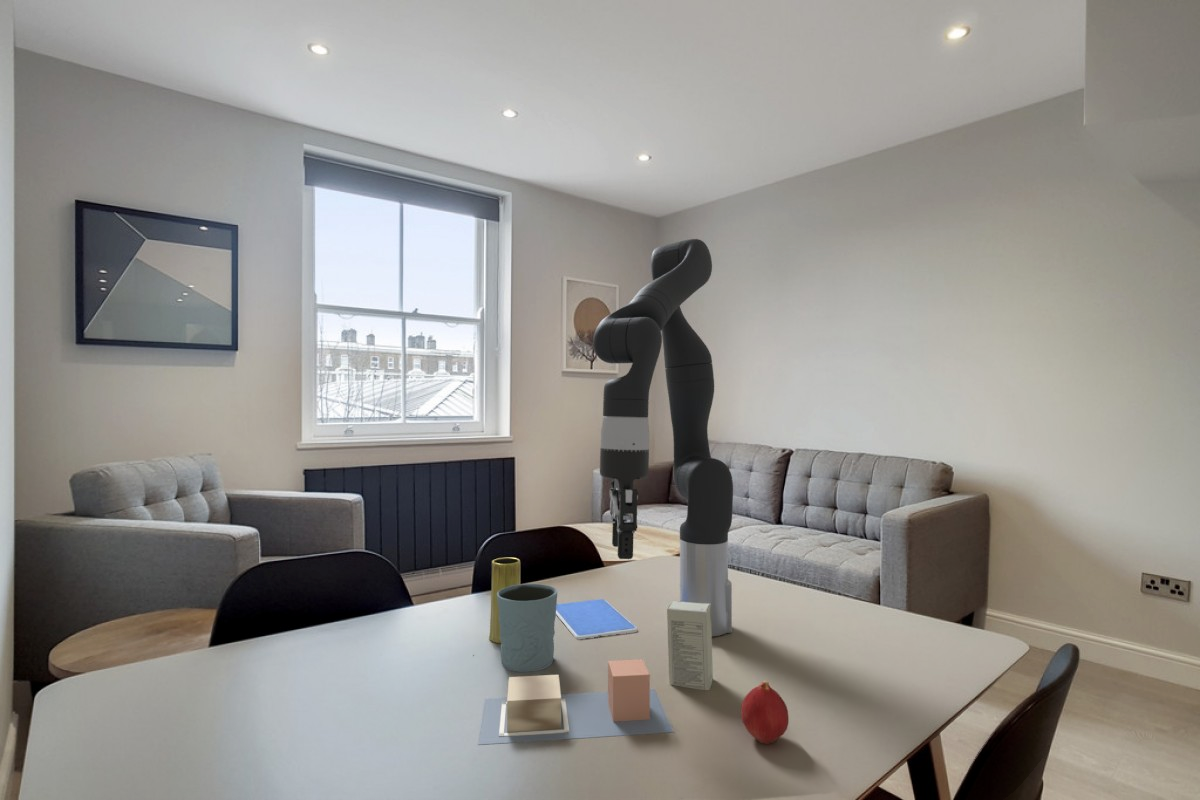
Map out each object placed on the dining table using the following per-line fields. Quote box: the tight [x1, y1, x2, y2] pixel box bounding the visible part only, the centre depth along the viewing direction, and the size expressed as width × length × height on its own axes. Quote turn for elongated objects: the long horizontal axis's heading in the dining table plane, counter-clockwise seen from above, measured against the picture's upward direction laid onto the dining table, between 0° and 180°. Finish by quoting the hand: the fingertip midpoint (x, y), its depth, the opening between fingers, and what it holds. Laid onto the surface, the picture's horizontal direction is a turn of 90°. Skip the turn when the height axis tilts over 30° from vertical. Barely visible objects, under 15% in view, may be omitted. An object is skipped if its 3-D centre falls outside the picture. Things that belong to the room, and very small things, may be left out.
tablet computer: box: [556, 598, 639, 640], centre depth 121 cm, size 19×13×1 cm, turn 20°
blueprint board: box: [477, 688, 675, 746], centre depth 82 cm, size 25×12×1 cm, turn 97°
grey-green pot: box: [497, 583, 558, 673], centre depth 100 cm, size 10×10×12 cm
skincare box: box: [666, 600, 714, 691], centre depth 92 cm, size 6×4×12 cm
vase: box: [488, 556, 521, 644], centre depth 112 cm, size 6×6×14 cm
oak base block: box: [506, 674, 562, 732], centre depth 81 cm, size 7×7×4 cm
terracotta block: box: [607, 658, 651, 722], centre depth 83 cm, size 5×5×6 cm
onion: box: [740, 680, 790, 745], centre depth 76 cm, size 6×6×8 cm
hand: (621, 552), depth 92 cm, fingers open, 8 cm apart
